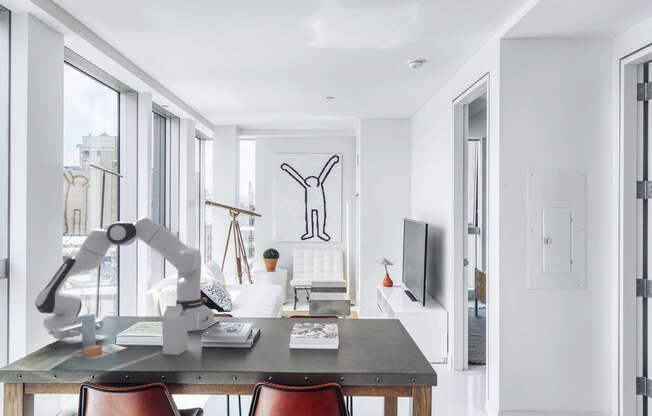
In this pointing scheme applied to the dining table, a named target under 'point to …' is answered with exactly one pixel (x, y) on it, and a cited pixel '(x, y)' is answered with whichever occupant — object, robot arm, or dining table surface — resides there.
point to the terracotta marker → (92, 350)
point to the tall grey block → (88, 330)
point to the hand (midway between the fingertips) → (89, 330)
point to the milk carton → (174, 330)
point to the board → (104, 351)
